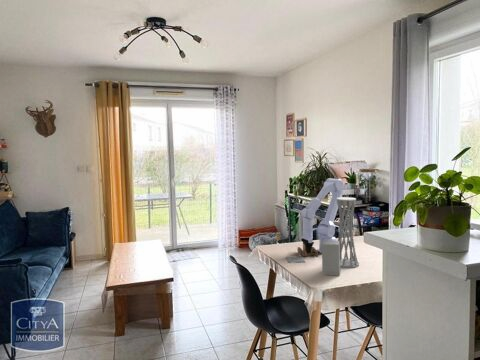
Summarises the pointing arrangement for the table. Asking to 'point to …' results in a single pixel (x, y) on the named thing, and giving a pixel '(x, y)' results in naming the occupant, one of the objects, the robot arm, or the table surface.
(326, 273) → the skincare box
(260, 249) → the table surface
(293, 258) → the slate mat
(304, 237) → the robot arm
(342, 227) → the vase
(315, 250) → the shelf slot
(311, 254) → the oak block
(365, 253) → the table surface
